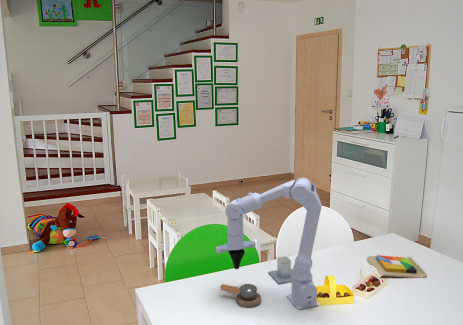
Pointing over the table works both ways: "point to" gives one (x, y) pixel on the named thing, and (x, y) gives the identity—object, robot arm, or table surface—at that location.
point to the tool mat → (278, 278)
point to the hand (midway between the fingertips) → (236, 268)
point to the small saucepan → (242, 291)
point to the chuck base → (248, 303)
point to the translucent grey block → (284, 267)
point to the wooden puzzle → (396, 266)
